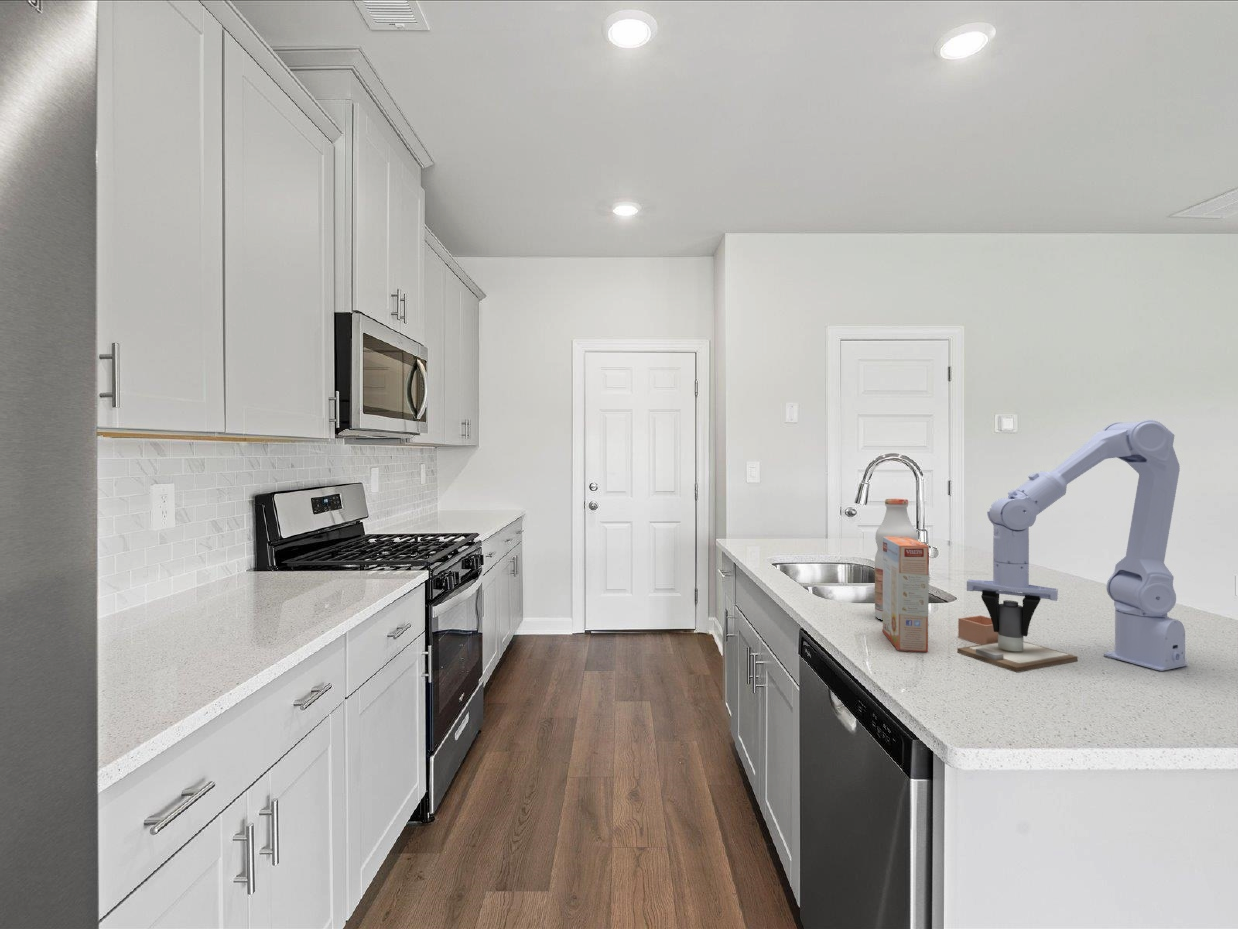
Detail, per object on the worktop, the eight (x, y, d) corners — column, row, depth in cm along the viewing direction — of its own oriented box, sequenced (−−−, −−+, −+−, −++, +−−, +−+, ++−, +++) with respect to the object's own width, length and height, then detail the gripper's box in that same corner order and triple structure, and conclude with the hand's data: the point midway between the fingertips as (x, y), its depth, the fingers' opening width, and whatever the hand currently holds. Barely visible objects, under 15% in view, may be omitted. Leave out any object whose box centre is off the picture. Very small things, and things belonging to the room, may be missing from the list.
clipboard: (1077, 660, 115) (1077, 651, 115) (1016, 672, 109) (1016, 662, 109) (1015, 643, 126) (1015, 634, 126) (957, 652, 120) (957, 643, 120)
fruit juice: (892, 612, 151) (892, 497, 151) (928, 621, 143) (928, 499, 142) (865, 617, 147) (865, 498, 146) (900, 627, 138) (900, 501, 138)
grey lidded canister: (1024, 647, 119) (1024, 601, 119) (1022, 652, 116) (1022, 605, 115) (999, 643, 121) (999, 598, 121) (996, 648, 118) (996, 602, 118)
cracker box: (930, 653, 120) (930, 545, 120) (897, 652, 121) (896, 544, 121) (911, 633, 134) (911, 536, 133) (881, 632, 135) (881, 535, 135)
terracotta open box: (1008, 642, 127) (1008, 622, 127) (986, 646, 124) (986, 626, 124) (980, 634, 133) (980, 615, 133) (958, 637, 130) (958, 618, 130)
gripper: (1058, 562, 117) (1058, 634, 117) (971, 555, 126) (971, 622, 126) (1056, 568, 111) (1056, 643, 112) (964, 560, 120) (964, 630, 121)
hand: (1010, 633), depth 118 cm, fingers closed on grey lidded canister, 4 cm apart
